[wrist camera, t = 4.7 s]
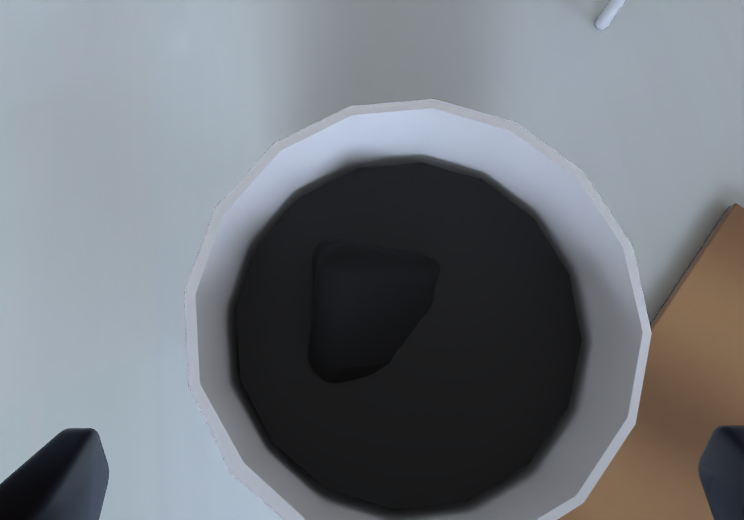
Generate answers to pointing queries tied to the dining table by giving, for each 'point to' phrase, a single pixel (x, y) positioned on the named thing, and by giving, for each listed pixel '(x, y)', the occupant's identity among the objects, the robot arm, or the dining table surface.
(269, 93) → the dining table surface
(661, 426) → the glossy brown placemat
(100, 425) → the dining table surface
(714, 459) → the robot arm
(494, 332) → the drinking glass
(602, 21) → the lollipop
